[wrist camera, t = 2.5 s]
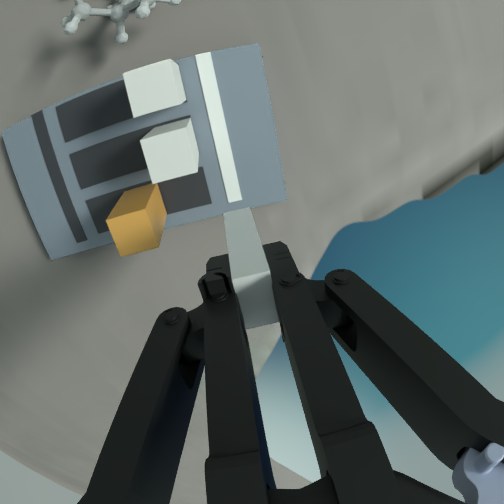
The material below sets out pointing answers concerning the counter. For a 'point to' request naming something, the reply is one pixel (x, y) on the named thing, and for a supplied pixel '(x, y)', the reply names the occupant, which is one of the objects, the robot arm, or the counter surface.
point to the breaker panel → (241, 131)
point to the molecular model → (111, 14)
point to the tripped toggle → (138, 220)
